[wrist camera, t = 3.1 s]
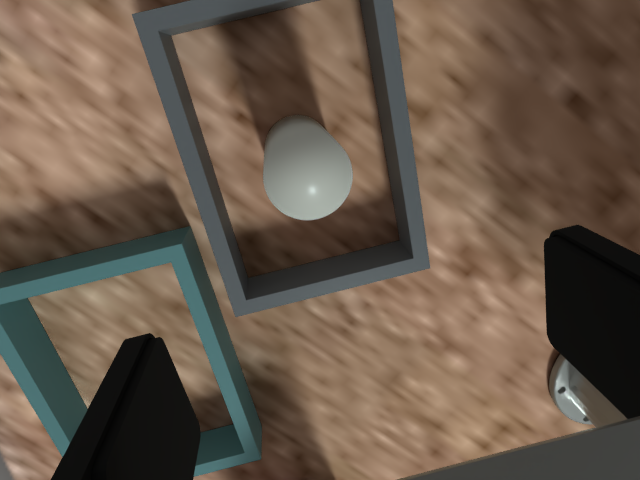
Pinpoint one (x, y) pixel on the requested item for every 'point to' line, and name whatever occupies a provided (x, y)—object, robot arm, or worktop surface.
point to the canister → (305, 169)
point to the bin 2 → (244, 293)
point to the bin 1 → (53, 379)
